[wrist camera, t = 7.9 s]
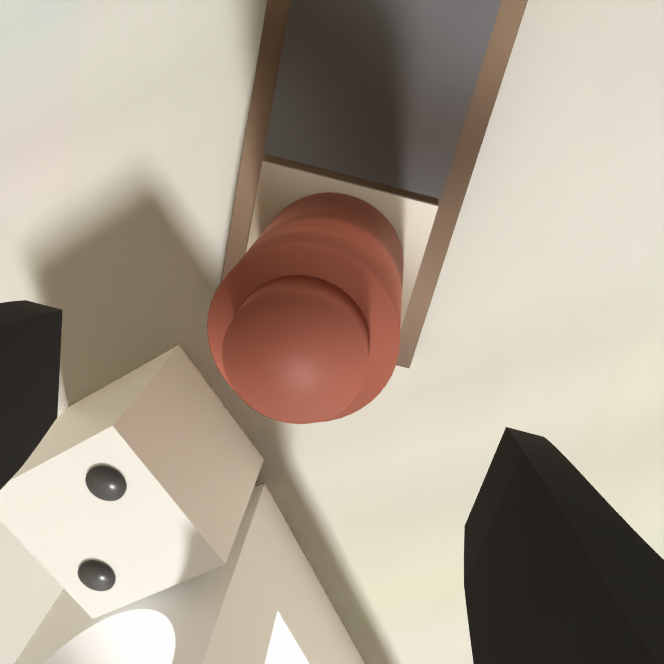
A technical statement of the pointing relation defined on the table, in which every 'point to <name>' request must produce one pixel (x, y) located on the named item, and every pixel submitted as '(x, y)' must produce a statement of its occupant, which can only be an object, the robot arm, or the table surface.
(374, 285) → the pawn
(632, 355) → the table surface
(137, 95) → the table surface
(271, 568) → the bracket
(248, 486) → the die
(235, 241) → the board
